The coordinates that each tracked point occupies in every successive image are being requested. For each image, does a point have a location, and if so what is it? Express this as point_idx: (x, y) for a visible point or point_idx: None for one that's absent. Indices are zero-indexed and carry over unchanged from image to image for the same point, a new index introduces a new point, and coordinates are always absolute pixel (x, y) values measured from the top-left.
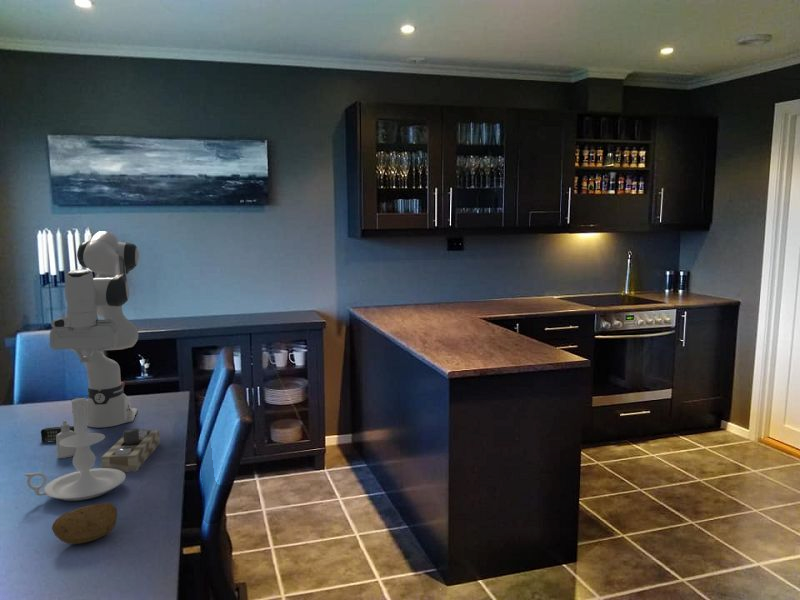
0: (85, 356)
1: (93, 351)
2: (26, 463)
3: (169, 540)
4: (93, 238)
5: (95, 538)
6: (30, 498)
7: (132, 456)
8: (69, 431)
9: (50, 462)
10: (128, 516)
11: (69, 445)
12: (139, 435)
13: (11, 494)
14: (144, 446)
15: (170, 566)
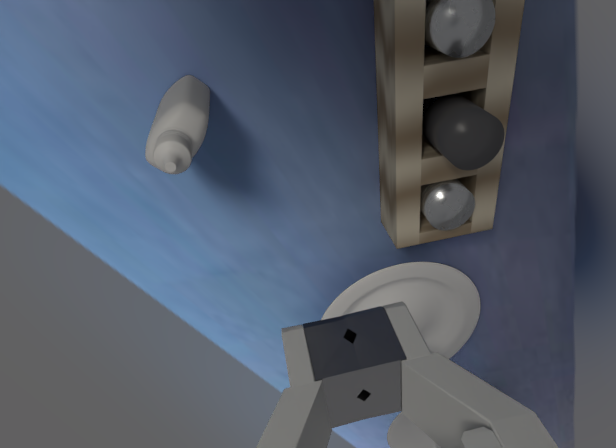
0: (361, 391)
1: (515, 415)
2: (84, 182)
3: (567, 397)
4: None
5: None
6: (283, 346)
7: (483, 229)
8: (193, 141)
9: None
10: (499, 363)
11: (419, 443)
12: (467, 53)
13: (225, 340)
14: (501, 148)
15: (571, 430)
